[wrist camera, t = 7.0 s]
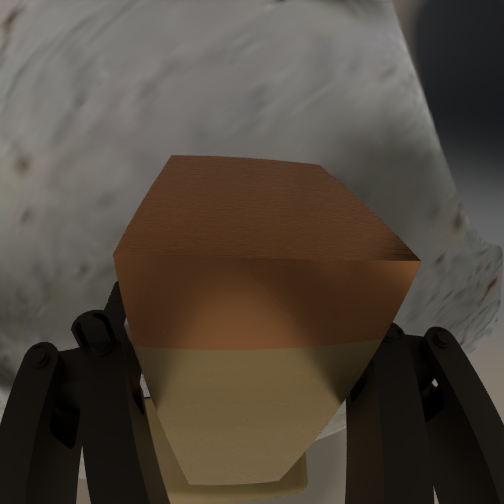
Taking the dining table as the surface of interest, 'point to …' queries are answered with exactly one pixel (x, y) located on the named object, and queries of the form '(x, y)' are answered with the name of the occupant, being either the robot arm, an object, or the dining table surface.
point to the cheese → (216, 496)
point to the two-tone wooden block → (254, 307)
